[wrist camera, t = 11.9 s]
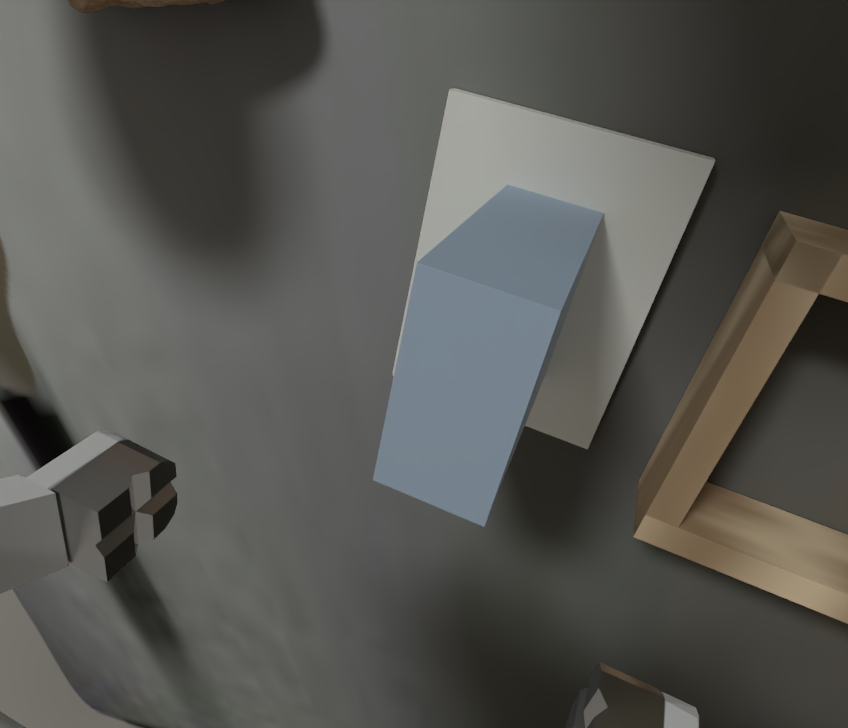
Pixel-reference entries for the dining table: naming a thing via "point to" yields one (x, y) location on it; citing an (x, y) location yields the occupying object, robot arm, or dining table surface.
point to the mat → (612, 247)
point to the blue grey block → (480, 347)
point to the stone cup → (130, 3)
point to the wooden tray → (722, 415)
